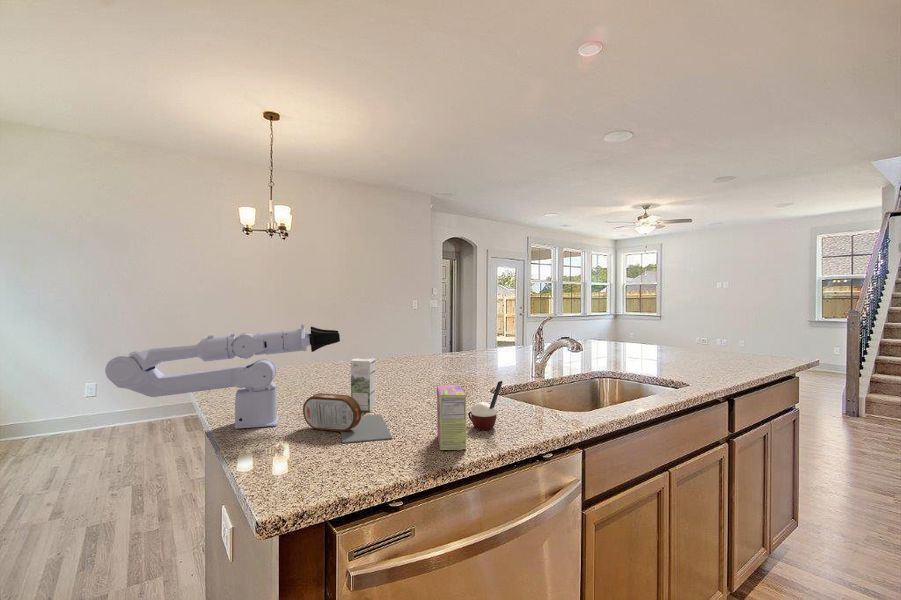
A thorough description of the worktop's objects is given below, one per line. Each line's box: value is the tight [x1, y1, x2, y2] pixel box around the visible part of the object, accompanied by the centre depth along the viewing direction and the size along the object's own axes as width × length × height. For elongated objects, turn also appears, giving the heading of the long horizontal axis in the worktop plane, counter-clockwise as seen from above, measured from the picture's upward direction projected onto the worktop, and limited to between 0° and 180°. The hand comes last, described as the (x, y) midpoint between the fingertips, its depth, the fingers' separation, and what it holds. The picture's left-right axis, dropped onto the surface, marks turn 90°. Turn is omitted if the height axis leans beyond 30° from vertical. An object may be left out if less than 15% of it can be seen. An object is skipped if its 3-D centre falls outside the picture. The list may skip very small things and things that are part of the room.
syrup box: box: [350, 357, 376, 412], centre depth 123 cm, size 6×6×14 cm
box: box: [436, 384, 467, 451], centre depth 95 cm, size 10×6×12 cm, turn 5°
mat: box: [340, 414, 393, 444], centre depth 106 cm, size 11×20×1 cm, turn 17°
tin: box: [302, 392, 362, 433], centre depth 103 cm, size 15×3×8 cm, turn 71°
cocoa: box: [467, 380, 503, 431], centre depth 106 cm, size 10×6×12 cm, turn 29°
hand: (339, 335), depth 115 cm, fingers open, 7 cm apart
